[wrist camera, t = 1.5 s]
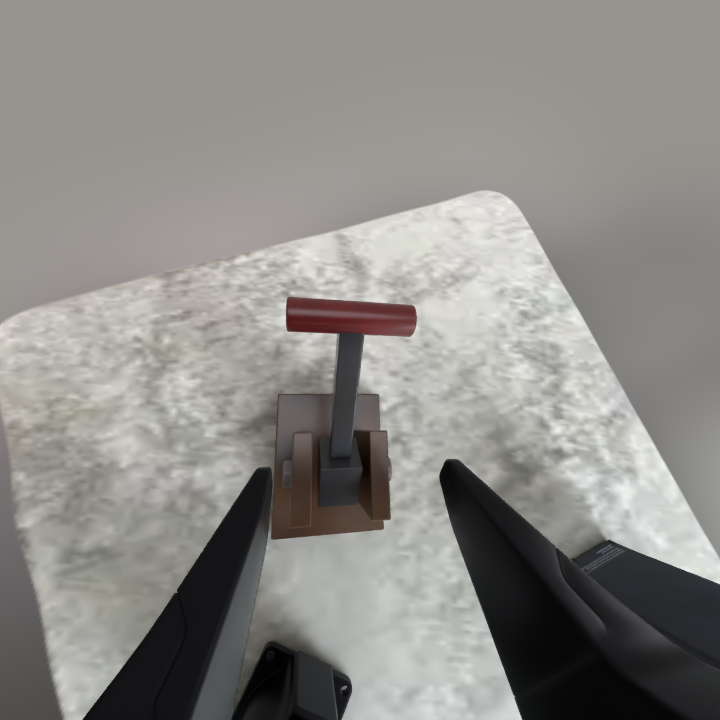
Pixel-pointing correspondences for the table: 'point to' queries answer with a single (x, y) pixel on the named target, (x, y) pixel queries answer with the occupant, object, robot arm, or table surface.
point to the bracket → (299, 469)
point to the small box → (661, 597)
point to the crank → (345, 380)
